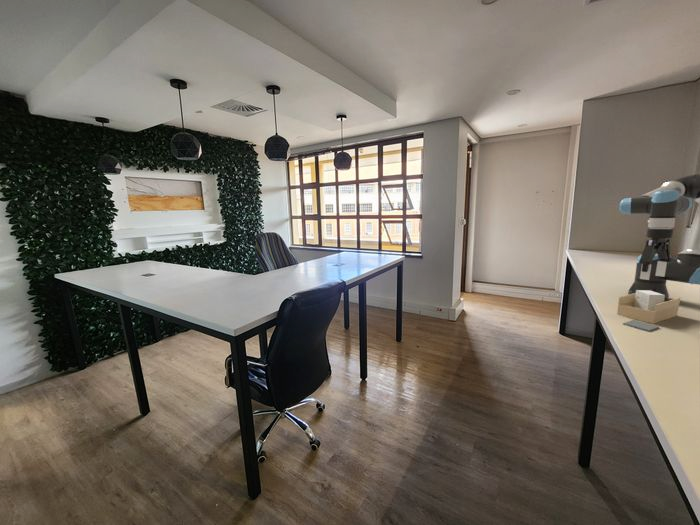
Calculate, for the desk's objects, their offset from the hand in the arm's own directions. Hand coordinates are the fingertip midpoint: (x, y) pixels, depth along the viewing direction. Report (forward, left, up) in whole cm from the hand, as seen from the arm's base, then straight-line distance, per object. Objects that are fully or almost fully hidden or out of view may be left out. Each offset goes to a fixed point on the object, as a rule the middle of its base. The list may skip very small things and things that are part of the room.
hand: (652, 277), depth 125 cm
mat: (+18, +5, -17) cm, 25 cm away
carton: (0, 0, -17) cm, 17 cm away
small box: (0, 0, -17) cm, 17 cm away
